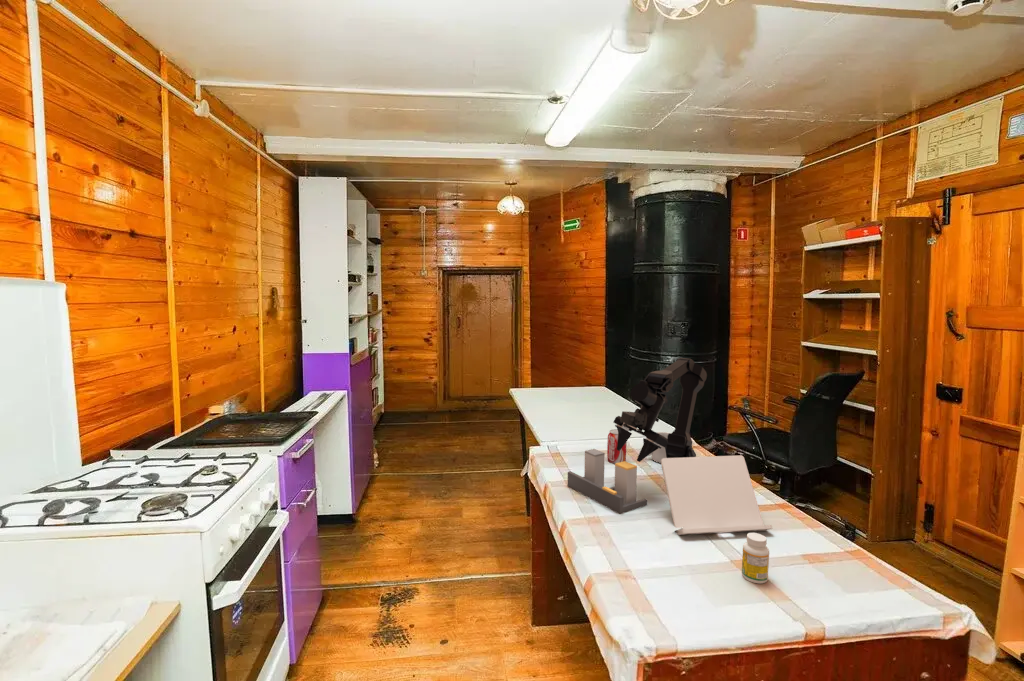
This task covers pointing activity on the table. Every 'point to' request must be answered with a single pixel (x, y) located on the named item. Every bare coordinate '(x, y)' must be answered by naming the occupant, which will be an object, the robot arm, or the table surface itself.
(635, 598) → the table surface
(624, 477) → the key marked
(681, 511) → the tablet stand
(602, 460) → the key plain
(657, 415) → the robot arm
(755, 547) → the supplement bottle
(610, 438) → the soda can
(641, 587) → the table surface
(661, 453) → the mug
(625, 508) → the dark grey divided tray
